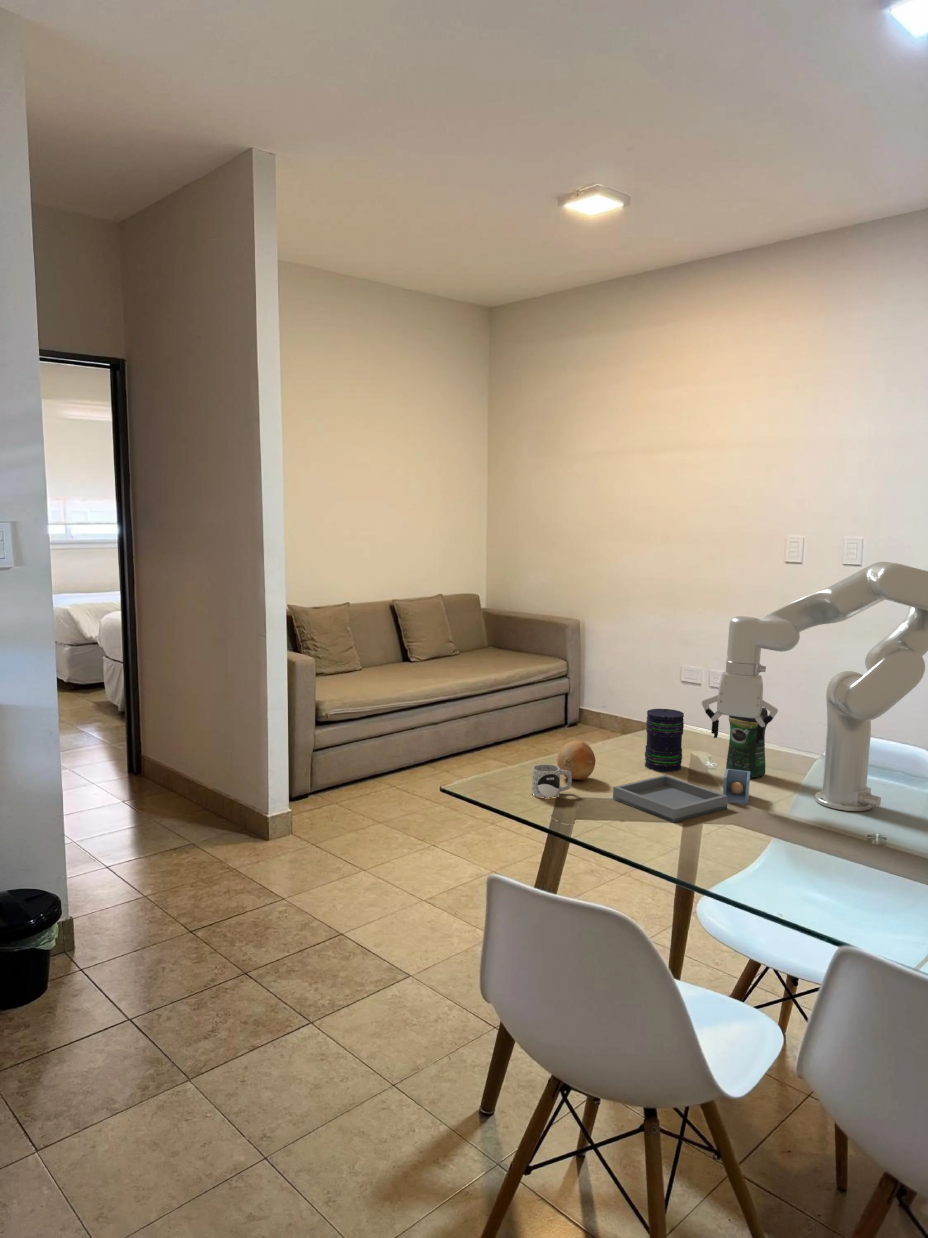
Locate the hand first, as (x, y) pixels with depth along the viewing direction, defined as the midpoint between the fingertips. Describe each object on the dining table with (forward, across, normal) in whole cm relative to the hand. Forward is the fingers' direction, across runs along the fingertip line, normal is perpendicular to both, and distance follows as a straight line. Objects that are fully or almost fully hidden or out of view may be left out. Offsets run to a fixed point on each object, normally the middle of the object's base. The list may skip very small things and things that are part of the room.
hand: (736, 739), depth 208 cm
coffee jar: (+14, -2, -23) cm, 27 cm away
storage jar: (+15, +19, -20) cm, 32 cm away
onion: (+16, +38, 0) cm, 41 cm away
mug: (+16, +41, +14) cm, 46 cm away
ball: (+12, -1, -2) cm, 13 cm away
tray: (+15, +14, +10) cm, 23 cm away
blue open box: (+15, -1, 0) cm, 15 cm away
